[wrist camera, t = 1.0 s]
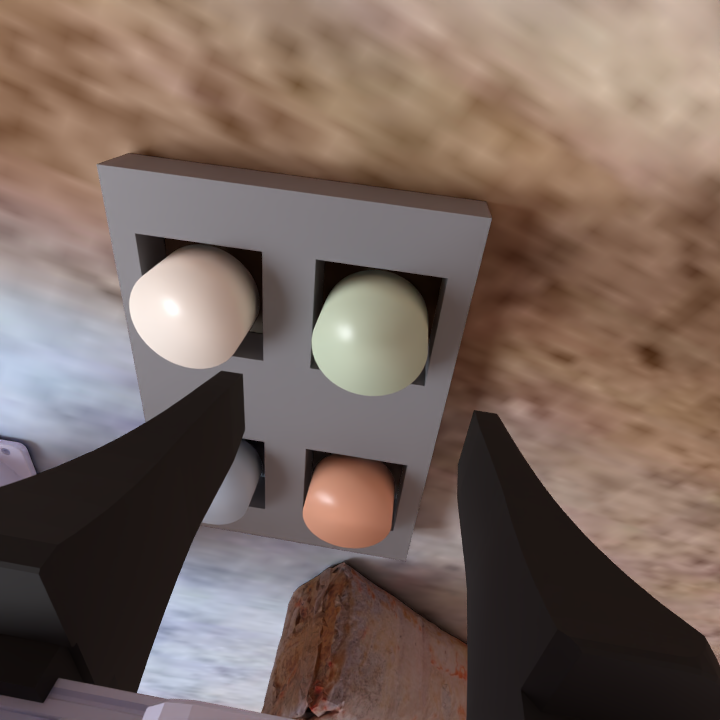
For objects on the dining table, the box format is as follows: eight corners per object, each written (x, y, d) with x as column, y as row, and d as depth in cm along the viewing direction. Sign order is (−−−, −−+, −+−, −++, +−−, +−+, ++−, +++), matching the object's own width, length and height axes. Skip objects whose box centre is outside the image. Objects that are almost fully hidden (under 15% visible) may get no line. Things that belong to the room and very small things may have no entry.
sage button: (320, 355, 20) (309, 386, 18) (326, 262, 17) (314, 287, 16) (418, 370, 19) (417, 403, 18) (437, 278, 17) (438, 305, 15)
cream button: (165, 331, 20) (138, 359, 18) (152, 237, 18) (120, 259, 16) (260, 345, 20) (242, 376, 18) (258, 252, 18) (238, 276, 16)
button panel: (180, 490, 27) (163, 519, 26) (128, 153, 18) (96, 164, 16) (407, 529, 27) (405, 561, 25) (485, 201, 17) (491, 218, 15)
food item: (502, 651, 32) (526, 855, 24) (416, 682, 36) (411, 868, 28) (354, 548, 29) (322, 750, 20) (274, 594, 32) (219, 781, 24)
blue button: (186, 482, 25) (167, 516, 23) (178, 423, 23) (156, 456, 21) (262, 495, 25) (249, 530, 23) (262, 436, 22) (246, 471, 21)
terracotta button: (311, 503, 25) (301, 540, 23) (314, 445, 22) (304, 481, 21) (389, 516, 24) (385, 554, 22) (400, 459, 22) (397, 496, 20)
